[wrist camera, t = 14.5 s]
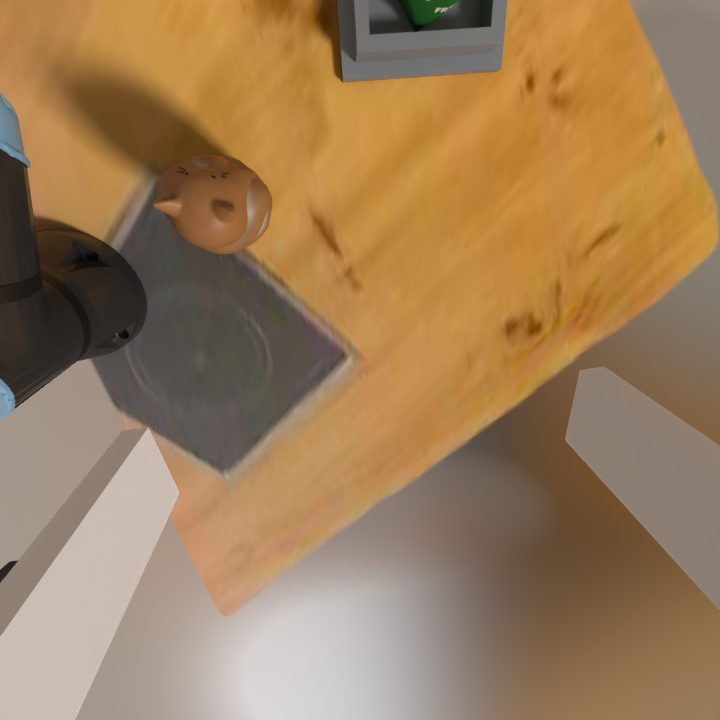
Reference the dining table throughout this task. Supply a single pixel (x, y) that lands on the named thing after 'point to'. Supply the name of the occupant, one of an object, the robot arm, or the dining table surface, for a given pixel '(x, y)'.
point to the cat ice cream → (215, 202)
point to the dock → (419, 40)
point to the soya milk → (424, 11)
